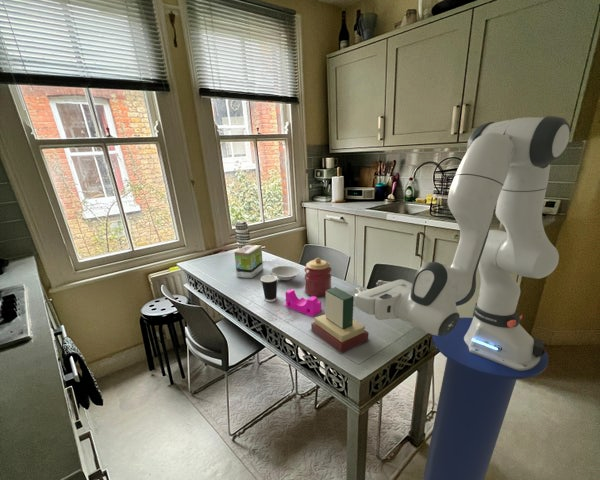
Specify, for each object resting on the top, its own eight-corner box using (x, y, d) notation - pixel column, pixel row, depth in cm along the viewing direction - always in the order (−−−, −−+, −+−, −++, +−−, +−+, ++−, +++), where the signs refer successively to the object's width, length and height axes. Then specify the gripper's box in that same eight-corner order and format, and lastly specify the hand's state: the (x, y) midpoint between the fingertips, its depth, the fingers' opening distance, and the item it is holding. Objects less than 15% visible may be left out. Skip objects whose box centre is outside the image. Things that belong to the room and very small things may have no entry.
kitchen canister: (335, 294, 152) (335, 260, 145) (309, 299, 149) (308, 264, 142) (325, 284, 164) (325, 252, 156) (302, 288, 161) (300, 255, 153)
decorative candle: (252, 262, 198) (247, 222, 188) (237, 263, 198) (232, 223, 188) (253, 257, 207) (249, 219, 196) (239, 258, 206) (234, 220, 196)
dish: (265, 278, 174) (264, 270, 171) (285, 271, 182) (285, 263, 180) (285, 288, 161) (284, 279, 159) (306, 280, 170) (306, 271, 167)
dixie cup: (282, 299, 150) (280, 278, 145) (267, 304, 146) (265, 283, 141) (273, 294, 156) (272, 273, 151) (259, 298, 151) (257, 277, 147)
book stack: (368, 340, 117) (369, 326, 114) (341, 353, 111) (341, 338, 108) (336, 320, 131) (336, 307, 128) (311, 330, 124) (310, 317, 122)
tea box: (252, 278, 174) (250, 253, 168) (236, 277, 177) (233, 252, 171) (263, 268, 187) (261, 244, 181) (248, 267, 190) (245, 243, 184)
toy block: (321, 310, 139) (321, 295, 136) (312, 316, 134) (312, 300, 131) (295, 301, 148) (294, 287, 144) (286, 306, 143) (285, 291, 140)
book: (352, 325, 115) (353, 296, 110) (343, 329, 113) (343, 300, 108) (334, 314, 123) (335, 286, 118) (325, 318, 121) (325, 289, 116)
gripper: (426, 282, 94) (391, 269, 105) (375, 301, 84) (342, 285, 95) (423, 301, 96) (389, 287, 107) (374, 322, 87) (342, 303, 98)
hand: (367, 286), depth 101 cm, fingers open, 8 cm apart
